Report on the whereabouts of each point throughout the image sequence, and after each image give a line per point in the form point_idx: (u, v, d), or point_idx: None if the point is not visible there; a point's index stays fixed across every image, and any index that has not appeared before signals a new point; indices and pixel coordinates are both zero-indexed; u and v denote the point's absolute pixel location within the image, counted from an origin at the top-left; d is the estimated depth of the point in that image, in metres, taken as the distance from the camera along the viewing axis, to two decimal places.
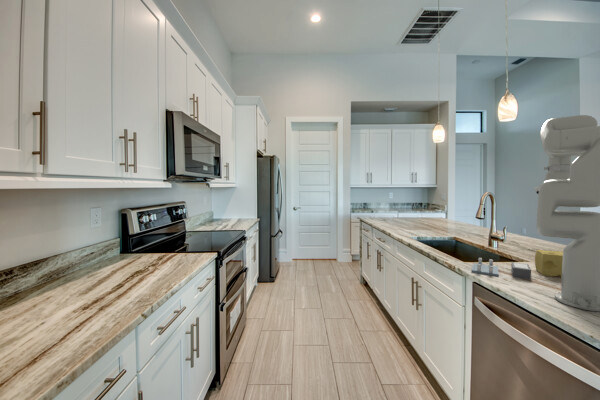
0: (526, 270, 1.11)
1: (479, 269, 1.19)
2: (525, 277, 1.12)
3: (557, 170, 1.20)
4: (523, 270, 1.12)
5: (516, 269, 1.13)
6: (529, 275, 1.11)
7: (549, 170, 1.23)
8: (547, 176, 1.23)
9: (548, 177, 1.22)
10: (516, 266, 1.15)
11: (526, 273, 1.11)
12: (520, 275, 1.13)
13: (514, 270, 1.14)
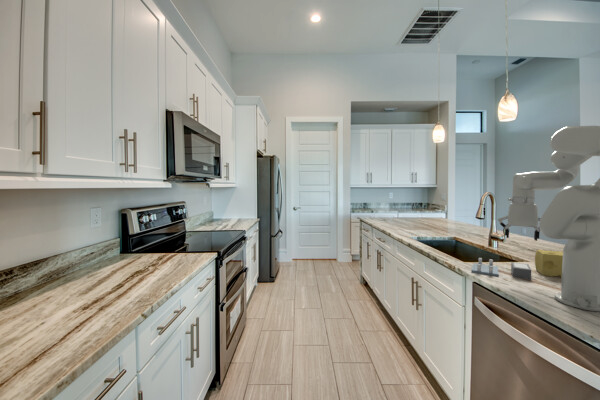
0: (526, 270, 1.11)
1: (479, 269, 1.19)
2: (525, 277, 1.12)
3: (520, 203, 1.13)
4: (523, 270, 1.12)
5: (516, 269, 1.13)
6: (529, 275, 1.11)
7: (513, 202, 1.16)
8: (510, 208, 1.16)
9: (511, 209, 1.16)
10: (516, 266, 1.15)
11: (526, 273, 1.11)
12: (520, 275, 1.13)
13: (514, 270, 1.14)
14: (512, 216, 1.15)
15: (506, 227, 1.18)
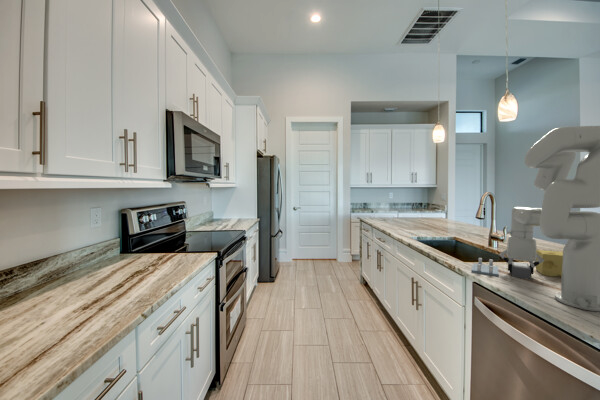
0: (526, 269, 1.12)
1: (479, 269, 1.19)
2: (525, 276, 1.12)
3: (519, 237, 1.14)
4: (523, 269, 1.12)
5: (516, 268, 1.14)
6: (528, 274, 1.11)
7: (511, 235, 1.17)
8: (509, 241, 1.17)
9: (510, 243, 1.16)
10: (516, 265, 1.16)
11: (525, 272, 1.12)
12: (519, 275, 1.13)
13: (514, 269, 1.14)
14: (511, 249, 1.16)
15: (509, 262, 1.18)
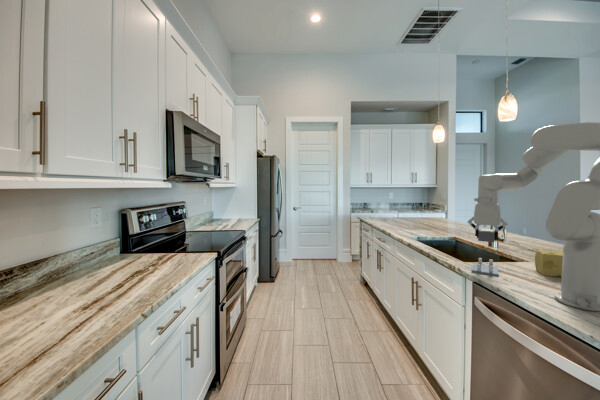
0: (490, 233, 1.18)
1: (479, 269, 1.19)
2: (489, 239, 1.18)
3: (484, 202, 1.20)
4: (487, 233, 1.18)
5: (481, 232, 1.20)
6: (492, 237, 1.17)
7: (478, 202, 1.23)
8: (476, 208, 1.23)
9: (477, 209, 1.22)
10: (482, 230, 1.22)
11: (490, 235, 1.18)
12: (485, 238, 1.19)
13: (479, 233, 1.20)
14: (478, 215, 1.22)
15: (476, 228, 1.24)
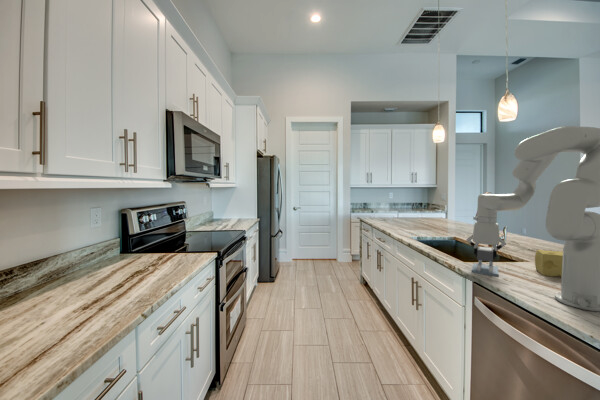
0: (489, 252, 1.18)
1: (479, 269, 1.19)
2: (488, 259, 1.19)
3: (483, 222, 1.20)
4: (486, 252, 1.19)
5: (480, 252, 1.20)
6: (491, 257, 1.18)
7: (477, 220, 1.23)
8: (475, 227, 1.23)
9: (476, 228, 1.23)
10: (480, 249, 1.22)
11: (489, 255, 1.18)
12: (483, 258, 1.20)
13: (478, 253, 1.21)
14: (477, 234, 1.23)
15: (475, 246, 1.25)
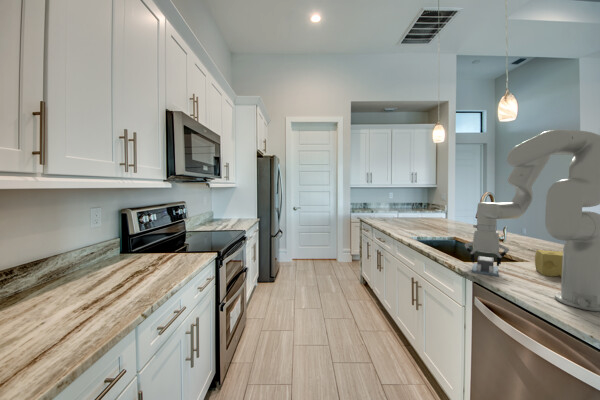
0: (489, 263, 1.18)
1: (479, 269, 1.19)
2: (488, 269, 1.19)
3: (483, 230, 1.20)
4: (486, 263, 1.19)
5: (480, 262, 1.20)
6: None
7: (477, 229, 1.24)
8: (475, 235, 1.23)
9: (476, 236, 1.23)
10: (481, 259, 1.22)
11: (489, 265, 1.18)
12: (483, 268, 1.20)
13: (478, 263, 1.21)
14: (477, 242, 1.23)
15: (472, 252, 1.25)
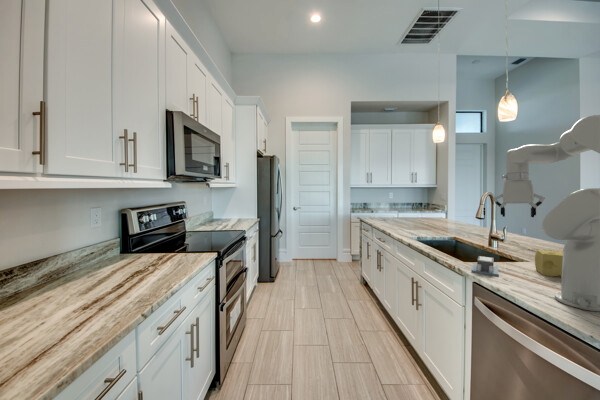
0: (489, 263, 1.18)
1: (479, 269, 1.19)
2: (488, 269, 1.19)
3: (514, 179, 1.10)
4: (486, 263, 1.19)
5: (480, 262, 1.20)
6: None
7: (507, 179, 1.13)
8: (505, 185, 1.13)
9: (506, 186, 1.12)
10: (481, 259, 1.22)
11: (489, 265, 1.18)
12: (483, 268, 1.20)
13: (478, 263, 1.21)
14: (507, 193, 1.12)
15: (502, 205, 1.14)
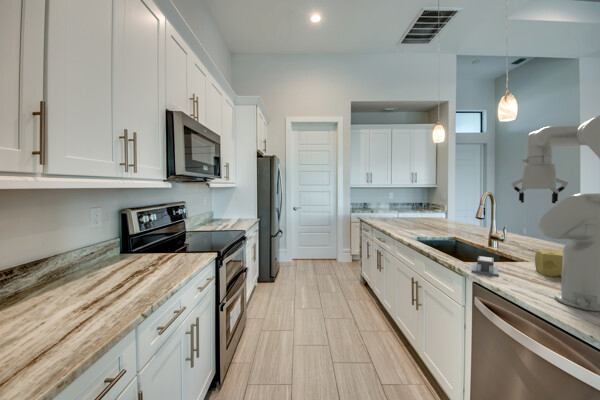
0: (489, 263, 1.18)
1: (479, 269, 1.19)
2: (488, 269, 1.19)
3: (536, 162, 1.04)
4: (486, 263, 1.19)
5: (480, 262, 1.20)
6: None
7: (528, 163, 1.07)
8: (525, 170, 1.07)
9: (526, 171, 1.07)
10: (481, 259, 1.22)
11: (489, 265, 1.18)
12: (483, 268, 1.20)
13: (478, 263, 1.21)
14: (528, 178, 1.06)
15: (521, 191, 1.09)
